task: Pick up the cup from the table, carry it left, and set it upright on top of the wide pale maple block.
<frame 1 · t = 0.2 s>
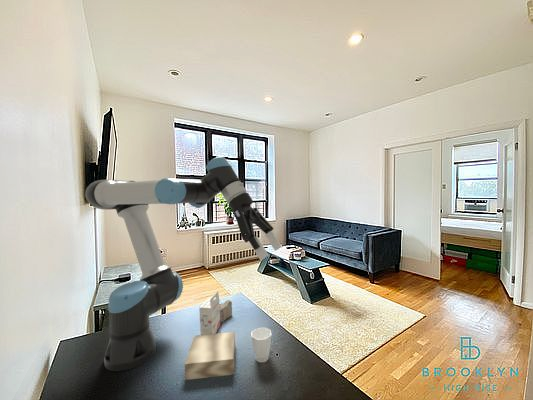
hand: (272, 253, 73), 35 cm above the table, tool tilted 35°, fingers open, 13 cm apart
cup: (263, 355, 76), on the table
maple block: (212, 361, 75), on the table
mineral specimen: (219, 319, 100), on the table, touching ink cartridge box
ink cartridge box: (210, 332, 91), on the table, touching mineral specimen
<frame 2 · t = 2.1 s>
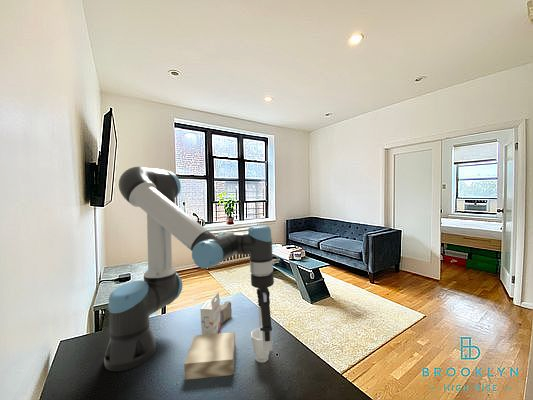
hand: (265, 336, 76), 6 cm above the table, tool pointing down, fingers open, 13 cm apart
mineral specimen: (219, 321, 99), on the table, touching ink cartridge box
ink cartridge box: (211, 334, 89), on the table, touching mineral specimen
everything else where it was.
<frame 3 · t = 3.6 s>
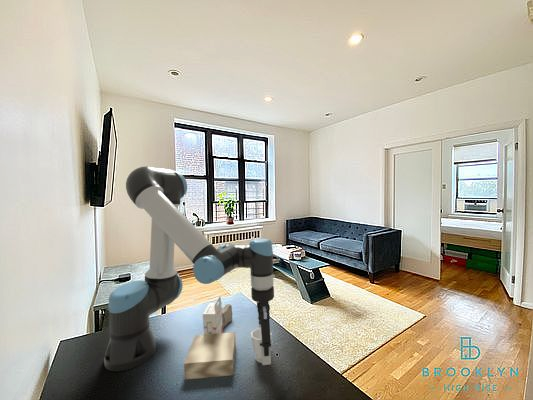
hand: (264, 353, 77), 0 cm above the table, tool pointing down, fingers closed on cup, 9 cm apart
cup: (263, 355, 76), on the table, touching gripper
mineral specimen: (220, 325, 96), on the table, touching ink cartridge box
ink cartridge box: (214, 338, 86), on the table, touching mineral specimen
everything else where it was.
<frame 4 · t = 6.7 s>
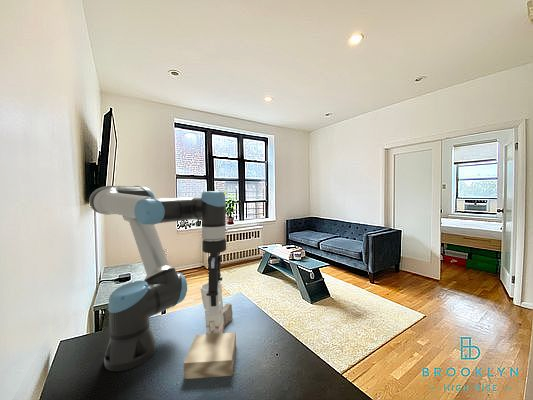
hand: (215, 307, 75), 17 cm above the table, tool pointing down, fingers closed on cup, 9 cm apart
cup: (214, 309, 75), point 16 cm above the table, touching gripper
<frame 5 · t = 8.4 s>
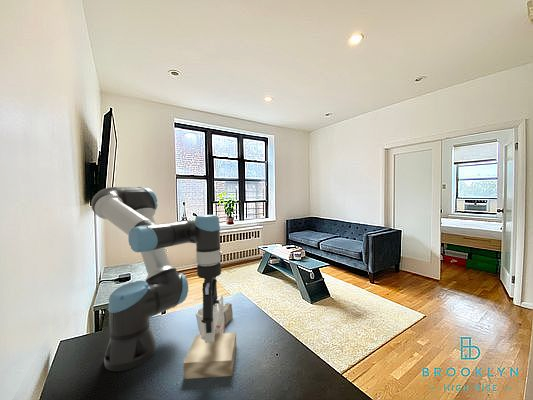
hand: (211, 332, 74), 9 cm above the table, tool pointing down, fingers closed on cup, 9 cm apart
cup: (210, 334, 74), point 9 cm above the table, touching gripper
when the fingers open (7 cm above the table, at t = 9.8 s): cup drops 2 cm, resting on maple block.
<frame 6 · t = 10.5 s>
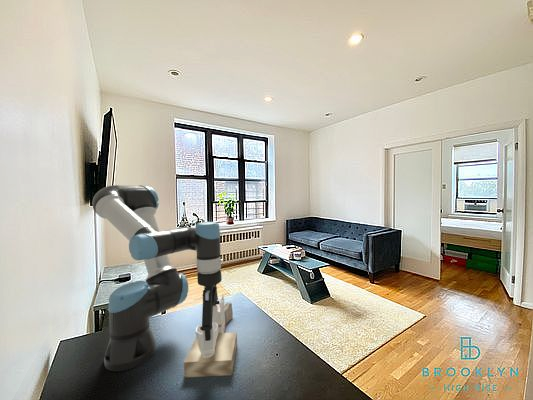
hand: (211, 335, 75), 8 cm above the table, tool pointing down, fingers open, 13 cm apart
cup: (210, 350, 73), point 4 cm above the table, touching maple block
maple block: (213, 361, 75), on the table, touching cup
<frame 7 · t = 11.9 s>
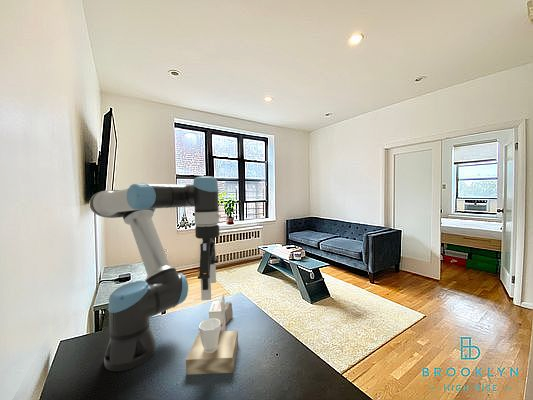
hand: (209, 290, 75), 23 cm above the table, tool pointing down, fingers open, 13 cm apart
cup: (212, 346, 75), point 4 cm above the table, touching maple block
maple block: (214, 358, 76), on the table, touching cup
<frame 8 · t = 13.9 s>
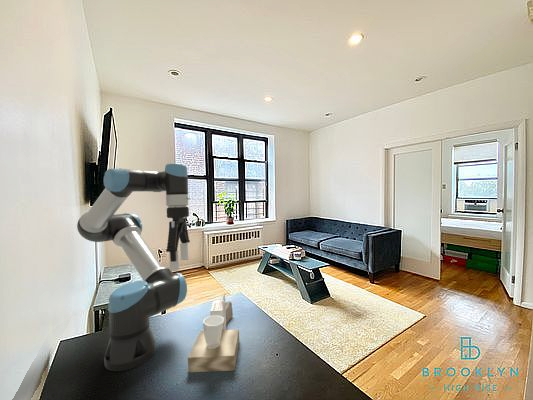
hand: (179, 264, 84), 29 cm above the table, tool pointing down, fingers open, 13 cm apart
cup: (215, 342, 77), point 4 cm above the table, touching maple block
at the end: cup inside the target area on the maple block (0.1 cm from its centre), point 5.0 cm above the maple block's base; cup tilted 4°; the gripper is holding nothing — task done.
